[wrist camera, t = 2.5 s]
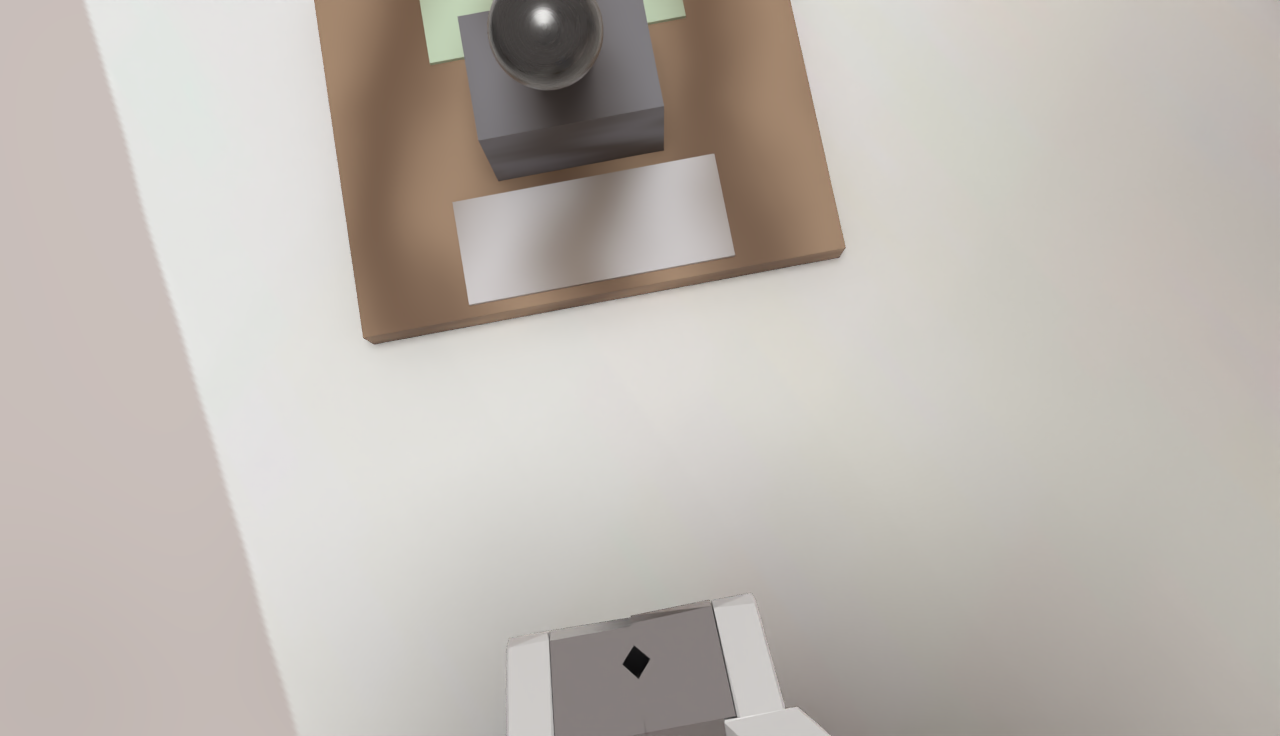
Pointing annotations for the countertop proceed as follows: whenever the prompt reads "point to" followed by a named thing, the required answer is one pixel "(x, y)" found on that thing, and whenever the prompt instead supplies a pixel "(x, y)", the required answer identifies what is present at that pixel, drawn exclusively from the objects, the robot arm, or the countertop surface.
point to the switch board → (448, 162)
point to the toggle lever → (545, 40)
